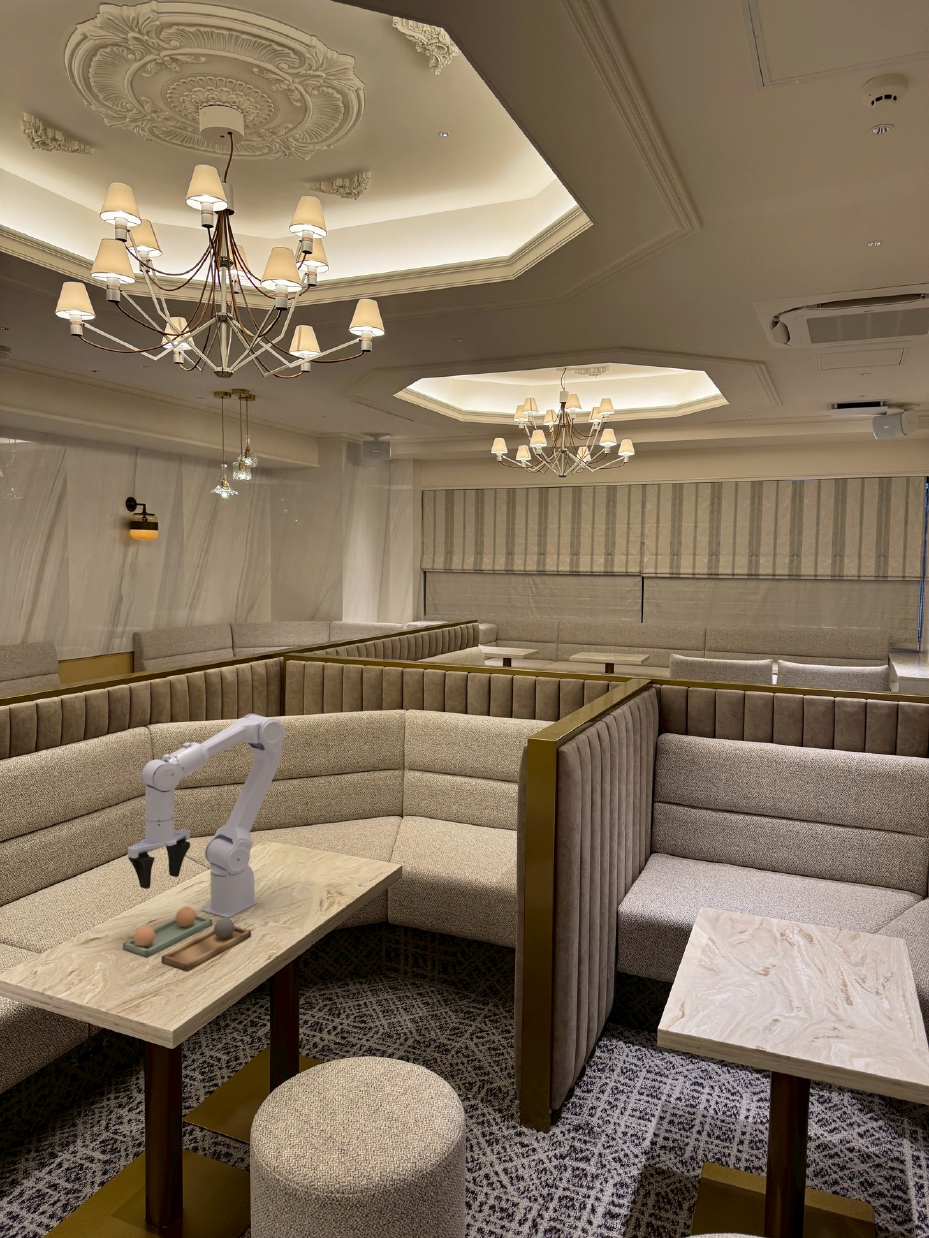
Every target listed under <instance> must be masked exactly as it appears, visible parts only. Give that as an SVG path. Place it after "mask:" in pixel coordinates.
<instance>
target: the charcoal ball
mask: <svg viewBox="0 0 929 1238" xmlns="http://www.w3.org/2000/svg"><path fill="white" fill-rule="evenodd" d="M234 926H235V924H234V922H233V920H232V919H231V918H230V917H229V918H225V917H222V918H220V919H218V920H217V921H216V922H215V924H214V926H213V927H214V928H213V930H214V932H215V934H216V936H217V937H219V938H221V939H225V938H228V937H230V936H231V935H232V934H233V932H234Z"/></svg>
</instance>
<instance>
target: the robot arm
mask: <svg viewBox="0 0 929 1238" xmlns="http://www.w3.org/2000/svg"><path fill="white" fill-rule="evenodd" d="M286 737H287V733H286V730H285V728H284V725H283V724H282V722H281V721H280V719H277V718H271V717H267V716H262V715H259V714H256V713H248V714H247V715H245V716H244V717H240V718H238V719H236V720H235V722H234V723H233V724H231V725H230V726H227V727H226V728H224V729H223V730H221V731H219V732H218V733H217V734H215V735H213V736H211V737H210V738H208V739H207V740H204V741H203V742H201V743H198V742H195V741H193V742H185V743H183V744H182V747H181V748H179V749H177V750H175V751H174V752H172V753H170V754H168V753H166V754H164V755H163V757H162V759H153V760H150V761H148V762H147V763H146V764H145V766H144V767H143V769H142V771H141V772H142V773H139V779H140V781H141V782H142V784H143V785H144V787H145V788H144V789H145V797H144V798H145V804H144V805H145V808H144V809H145V810H144V812H145V816H144V817H145V821H144V822H145V829H144V831H145V835H144V836H145V837H144V839H142V840H140V841H139V842H137V843H135V844H134V845H132V846H128V848H127V858H128V860H129V861H130V863H131V865H132V867H133V869H134V871H135V873H136V875H137V879H138V881H139V882H138V883H139V886H140V888H141V889H145V890H148V889H150V888H151V883H152V868H153V866H154V865H153V864H154V862H155V860H156V859H155V857H153V856H150V854H149V853H150V852H153V851H156V850H159V849H162V848H164V847H165V848H166V851H167V858H168V873H169V876H170V877H174V878H178V877H179V876H180V872H181V869H182V865H183V862H184V859H185V857H186V855H187V853H188V851H189V850H190V848H191V842H190V841H188V840H190V839H191V830H190V829H187V828H182V829H178V830H175V826H176V825H175V824H176V823H175V818H176V817H175V804H176V803H175V796H176V795H175V788H176V787H177V786H178V785H179V784H180V781H181V780H182V779H183V778H185V777H187V776H189V775H190V774H193V773H194V772H196V771H198V770H200V769H201V768H203V767H205V766H206V765H207V762H208V761H209V758H210V757H212V756H214V755H216V754H219V753H220V752H222V751H225V750H227V749H228V748H230V747H231V748H232V747H233V746H234V745H237V744H239V743H246V744H247V745H248V746H249V747H250V748H251V751H252V753H253V756H254V758H255V759H254V761H253V764H252V766H251V769H250V771H249V773H248V775H247V777H246V779H245V782H244V784H243V786H242V788H241V791H240V793H239V795H238V798H237V800H236V802H235V804H234V807H233V809H232V811H231V813H230V816H229V817H228V820H227V822H226V823H225V824H224V825H222V826H221V827H219V828H218V829H216V832H215V833H214V835H213V837H212V838H210V840H208V842H207V843H206V845H205V848H204V857H205V860H206V861H207V862H208V863H209V869H210V904H209V905H207V906H205V907H202V909H201V911H202V912H205V913H208V914H211V915H215V916H218V917H222V918H229V919H230V918H231V917H233V916H236V915H238V914H239V913H241V912H243V911H245V910H247V909H249V908H252V907H253V906H255V905H256V904H258V901H257V900H255V875H254V871H253V869H252V867H251V866H250V865H249V863H250V860H251V849H252V848H253V838H252V836H251V830H252V827H253V825H254V823H255V821H256V818H257V816H258V814H259V812H260V809H261V807H262V805H263V802H264V800H265V798H266V795H267V793H268V791H269V789H270V786H271V785H272V781H273V779H274V777H275V775H276V772H277V771H278V768H279V766H280V763H281V760H282V757H283V756H282V755H283V742H285V738H286Z"/></svg>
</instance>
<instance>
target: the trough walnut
mask: <svg viewBox="0 0 929 1238" xmlns="http://www.w3.org/2000/svg"><path fill="white" fill-rule="evenodd" d="M251 936H252V930H250V929H247V928H243V927H239V926H236V925H234V932H233V934H232V935H231V936H230V937H228V938H225V939H221V938H219V937H217V936H216V934H215V932H214V929H212V930H210V931H208V932H206V933H205V934H203V935H200V936H199V937H197V938H195V939H193V940H191V941H189V942H188V943H185V944H183V945H181V946H179V947H177V948H176V949H173V950H171V951H170V952H168V953H166V954H163V955H162V956H161V963H163V964H165V965H168V966H171V967H174V968H177V969H180V970H182V971H186V972H189V971H190V970H192V969H194V968H197V967H198V966H199V965H202V964H203V963H205V962H207V961H209V960H210V959H213V958H215V957H216V956H218V955H220V954H222V953H223V952H225V951H227V950H229V949H231V948H232V947H234V946H236V945H238V944H240V943H241V942H243V941H245V940H247V939H249V938H250V937H251Z"/></svg>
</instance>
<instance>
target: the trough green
mask: <svg viewBox="0 0 929 1238" xmlns="http://www.w3.org/2000/svg"><path fill="white" fill-rule="evenodd" d="M210 926H213V919H212V918H209V917H205V916H201V915H199V914H196V919H195V921H194V923H193V924H192V925H190V926H188V927H182V926H180V925H179V924H178V923H177V921H176V918H174V919H172V920H169V921H167V922H165V923H163V924H161V925H159V926H158V927H157V926H156V927H154V928H152V929H153V930H154V932H155V939H154V941H153V942H152V944H150V945H149V946H147V947H139V946H137V945H136V944H135V942H134V937H133V938H131V939H130V940H129V939H128V940H127V941H125V942H123V943H122V950H124V951H127V952H130V953H134V954H136V955H139V956H141V957H145V958H150V957H151V956H154V955H155V954H157V953H159V952H161V951H163V950H165V949H167V948H169V947H171V946H173V945H175V944H177V943H179V942H181V941H184V940H185V939H187V938H189V937H191V936H192V935H195V934H197V933H199V932H201V931H203V930H205V929H207V928H209V927H210Z"/></svg>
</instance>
